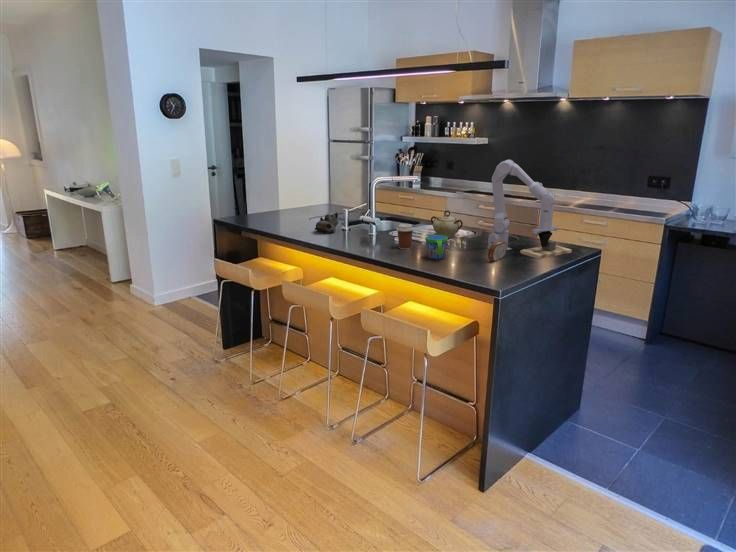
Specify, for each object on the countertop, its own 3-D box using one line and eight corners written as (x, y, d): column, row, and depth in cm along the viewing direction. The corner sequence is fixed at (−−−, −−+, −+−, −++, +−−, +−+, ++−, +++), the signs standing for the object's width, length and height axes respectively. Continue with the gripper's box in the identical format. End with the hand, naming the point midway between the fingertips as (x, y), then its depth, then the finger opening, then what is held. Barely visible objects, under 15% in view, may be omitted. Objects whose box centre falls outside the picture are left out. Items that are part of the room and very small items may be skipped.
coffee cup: (415, 246, 267) (415, 223, 263) (412, 250, 258) (412, 227, 255) (398, 245, 269) (398, 223, 265) (394, 249, 261) (394, 226, 257)
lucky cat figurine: (313, 230, 309) (321, 208, 309) (332, 237, 310) (340, 216, 311) (314, 227, 294) (323, 205, 295) (334, 235, 296) (342, 213, 296)
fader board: (538, 258, 240) (538, 255, 239) (520, 253, 250) (520, 249, 249) (571, 252, 249) (571, 249, 249) (552, 247, 259) (553, 244, 259)
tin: (501, 255, 246) (502, 238, 244) (507, 256, 244) (508, 239, 242) (486, 262, 235) (487, 244, 233) (493, 263, 233) (494, 245, 231)
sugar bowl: (467, 236, 286) (469, 209, 282) (455, 241, 275) (456, 214, 270) (437, 232, 298) (437, 206, 293) (424, 237, 286) (424, 210, 282)
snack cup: (423, 253, 252) (423, 233, 249) (444, 253, 252) (445, 233, 249) (426, 262, 237) (427, 241, 234) (449, 262, 237) (450, 240, 234)
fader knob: (549, 250, 246) (550, 242, 245) (541, 248, 251) (542, 240, 250) (555, 249, 248) (556, 241, 247) (547, 247, 253) (548, 239, 251)
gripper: (541, 222, 237) (538, 250, 241) (563, 218, 243) (560, 246, 247) (530, 219, 243) (527, 247, 247) (552, 216, 249) (549, 243, 253)
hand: (543, 246), depth 248 cm, fingers closed
